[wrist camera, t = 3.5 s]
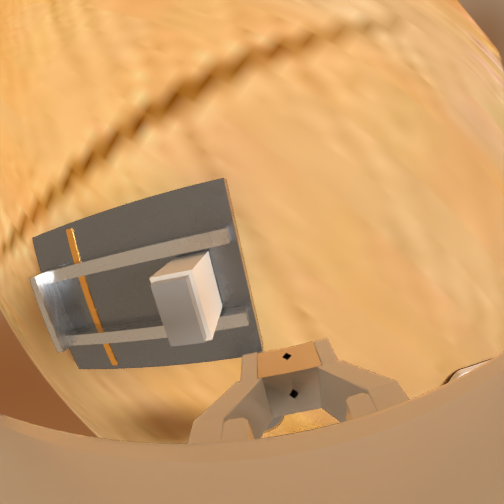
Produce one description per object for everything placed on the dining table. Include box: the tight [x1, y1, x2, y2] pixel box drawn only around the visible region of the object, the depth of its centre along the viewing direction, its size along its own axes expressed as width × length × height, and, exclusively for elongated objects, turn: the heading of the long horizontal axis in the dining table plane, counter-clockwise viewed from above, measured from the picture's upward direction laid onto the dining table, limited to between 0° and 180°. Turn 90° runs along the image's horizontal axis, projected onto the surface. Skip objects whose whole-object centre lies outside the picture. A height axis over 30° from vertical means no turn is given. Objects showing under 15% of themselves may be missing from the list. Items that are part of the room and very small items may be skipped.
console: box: [29, 178, 263, 369], centre depth 24 cm, size 22×16×5 cm
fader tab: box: [150, 251, 222, 347], centre depth 20 cm, size 3×5×7 cm, turn 12°
